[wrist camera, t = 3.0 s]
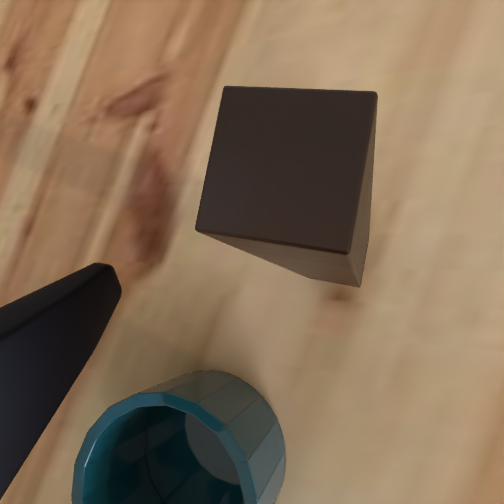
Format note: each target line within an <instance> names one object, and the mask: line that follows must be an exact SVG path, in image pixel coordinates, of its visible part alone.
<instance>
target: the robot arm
mask: <svg viewBox="0 0 504 504" xmlns="http://www.w3.org/2000/svg"><path fill="white" fill-rule="evenodd" d="M121 294H122V288H121V285H120V283H119V280H118V278H117V275H116V272H115V270H114V268H113V267H112V266H111V265H109V264H104V263H93V264H91V265H89V266H87V267H85V268H83V269H81V270H78V271H76V272H74V273H72V274H70V275H68V276H66V277H64V278H62V279H60V280H57V281H55V282H53V283H51V284H49V285H47V286H45V287H43V288H41V289H39V290H36V291H34V292H32V293H30V294H28V295H26V296H24V297H22V298H20V299H18V300H15V301H13V302H11V303H9V304H7V305H5V306H3V307H1V308H0V500H1V498H2V496H3V495H4V493H5V492H6V490H7V488H8V487H9V485H10V484H11V482H12V481H13V479H14V477H15V476H16V474H17V473H18V471H19V469H20V468H21V466H22V465H23V463H24V461H25V460H26V458H27V457H28V455H29V453H30V452H31V450H32V449H33V447H34V446H35V444H36V442H37V441H38V439H39V438H40V436H41V434H42V433H43V431H44V430H45V428H46V426H47V425H48V423H49V422H50V420H51V418H52V417H53V415H54V414H55V412H56V410H57V409H58V407H59V406H60V404H61V403H62V401H63V399H64V398H65V396H66V395H67V393H68V391H69V390H70V388H71V387H72V385H73V383H74V382H75V380H76V379H77V377H78V375H79V374H80V372H81V371H82V369H83V367H84V366H85V364H86V363H87V361H88V360H89V358H90V356H91V355H92V353H93V351H94V350H95V348H96V346H97V344H98V342H99V340H100V338H101V336H102V334H103V332H104V330H105V328H106V326H107V324H108V322H109V320H110V318H111V316H112V314H113V312H114V310H115V308H116V306H117V304H118V302H119V300H120V298H121Z"/></svg>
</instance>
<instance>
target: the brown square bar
mask: <svg viewBox="0 0 504 504" xmlns="http://www.w3.org/2000/svg"><path fill="white" fill-rule="evenodd" d="M377 100H378V95H377V93H376V92H374V91H351V90H324V89H298V88H271V87H245V86H224V88H223V93H222V97H221V102H220V107H219V112H218V117H217V122H216V127H215V132H214V137H213V142H212V147H211V152H210V156H209V161H208V166H207V171H206V176H205V181H204V186H203V191H202V196H201V201H200V206H199V211H198V215H197V220H196V225H195V230H196V231H197V232H200V233H202V234H204V235H207V236H209V237H212V238H214V239H216V240H219V241H221V242H224V243H226V244H228V245H231V246H233V247H236V248H238V249H240V250H243V251H245V252H248V253H250V254H252V255H255V256H257V257H260V258H262V259H264V260H267V261H269V262H272V263H274V264H276V265H279V266H281V267H284V268H286V269H288V270H291V271H293V272H296V273H298V274H300V275H303V276H305V277H308V278H311V279H316V280H322V281H327V282H332V283H338V284H343V285H349V286H354V287H360V286H361V281H362V276H363V270H364V264H365V258H366V252H367V246H368V240H369V230H370V214H371V198H372V181H373V165H374V149H375V133H376V116H377Z"/></svg>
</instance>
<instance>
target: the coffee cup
mask: <svg viewBox="0 0 504 504" xmlns="http://www.w3.org/2000/svg"><path fill="white" fill-rule="evenodd" d="M285 465H286V453H285V444H284V439H283V435H282V431H281V428H280V425H279V423H278V421H277V418H276V416H275V414H274V413H273V411H272V409H271V407H270V406H269V404H268V403H267V402H266V401H265V399H264V398H263V397H262V396H261V395H260V394H259V393H258V392H257V391H256V390H255V389H254V388H253V387H252V386H250V385H249V384H248V383H246V382H245V381H243V380H241V379H240V378H238V377H235V376H233V375H231V374H228V373H224V372H220V371H213V370H202V371H196V372H191V373H186V374H183V375H181V376H178V377H176V378H173V379H171V380H168V381H166V382H163V383H161V384H158V385H156V386H153V387H151V388H148V389H146V390H143V391H141V392H138V393H136V394H134V395H132V396H130V397H128V398H126V399H124V400H122V401H120V402H118V403H116V404H114V405H112V406H110V407H109V408H108V409H107V410H106V411H105V412H104V413H103V414H102V416H101V417H100V418H99V419H98V420H97V421H96V422H95V423H94V425H93V426H92V427H91V428H90V429H89V431H88V432H87V434H86V436H85V439H84V441H83V444H82V446H81V449H80V451H79V453H78V456H77V458H76V461H75V465H74V475H73V485H72V495H71V497H72V504H275V501H276V499H277V496H278V494H279V492H280V489H281V487H282V483H283V479H284V474H285Z"/></svg>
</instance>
